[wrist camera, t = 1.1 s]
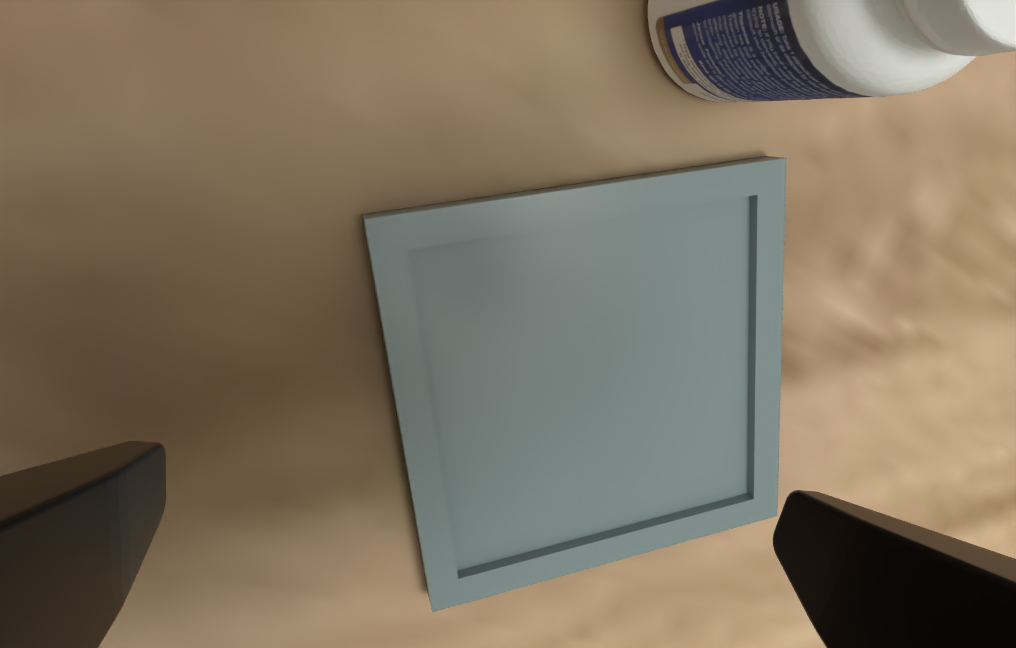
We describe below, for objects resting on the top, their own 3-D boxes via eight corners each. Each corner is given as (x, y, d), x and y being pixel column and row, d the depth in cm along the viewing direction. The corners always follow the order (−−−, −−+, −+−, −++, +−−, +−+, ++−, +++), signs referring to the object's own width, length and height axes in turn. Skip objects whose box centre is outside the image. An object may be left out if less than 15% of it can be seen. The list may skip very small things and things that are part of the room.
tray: (427, 592, 23) (432, 612, 22) (361, 214, 19) (364, 219, 18) (760, 501, 26) (777, 516, 25) (766, 156, 22) (786, 157, 21)
